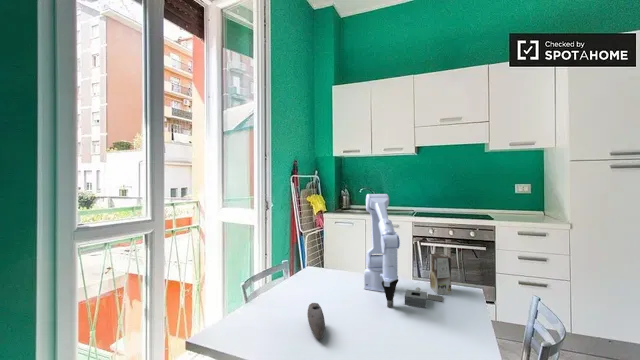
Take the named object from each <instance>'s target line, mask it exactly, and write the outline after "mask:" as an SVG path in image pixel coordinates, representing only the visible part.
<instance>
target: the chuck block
mask: <svg viewBox="0 0 640 360" xmlns="http://www.w3.org/2000/svg"><path fill="white" fill-rule="evenodd" d="M427 296H428V293H427V291H423V290H422V291H421V288H420V287H418V286H417V287H416V288H415V289H414V290H413V289H406V291H405V294H404V306H409V307H417V308H423V309H426V308H427V302H428V300H427Z"/></svg>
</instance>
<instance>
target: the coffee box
mask: <svg viewBox="0 0 640 360" xmlns="http://www.w3.org/2000/svg"><path fill="white" fill-rule="evenodd" d="M429 276H430V277H429V279H430V280H429V282H430V283H429V284H430V285H429V288H430V289H431V290H432V291H434V293H435V294H436V295H452V257H449V256H448V255H446V254H444V253H439V252H438V253H429Z"/></svg>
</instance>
